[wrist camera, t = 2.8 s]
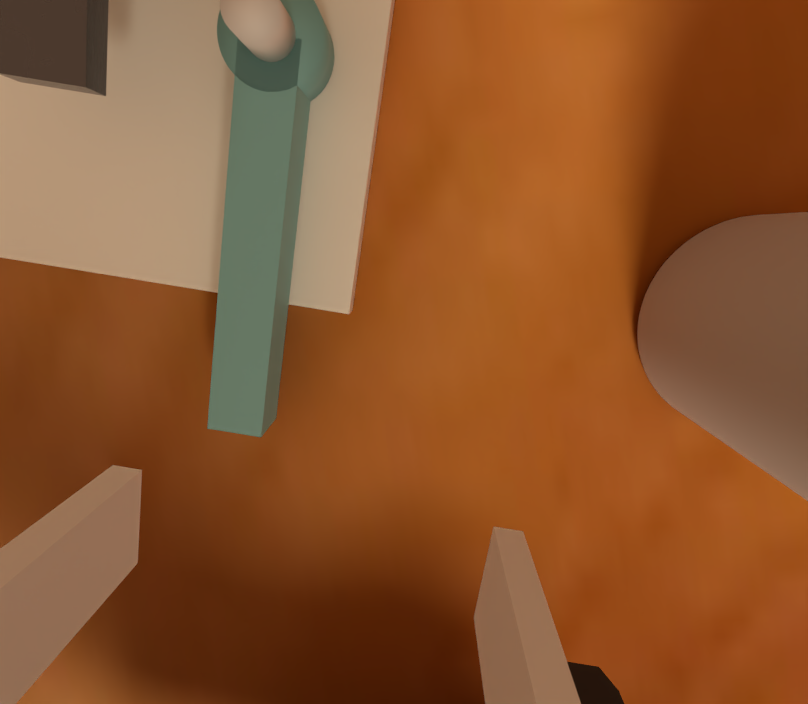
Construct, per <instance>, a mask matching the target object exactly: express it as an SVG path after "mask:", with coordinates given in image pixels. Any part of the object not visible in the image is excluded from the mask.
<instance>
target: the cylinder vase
mask: <svg viewBox="0 0 808 704" xmlns="http://www.w3.org/2000/svg"><path fill="white" fill-rule="evenodd" d="M637 340H638V349H639V355H640V359H641V362H642V365H643V368H644V370H645V373H646V375H647V377H648V379H649V381H650V382H651V384H652V385H653V387H654V388H655V390H656V391H657V392H658V393H659V395H660V396H661V397H662V398H663V399H664V400H665V401H666V402H667V403H668V404H670V405H671V406H672V407H673V408H675V409H676V410H677V411H679V412H680V413H682V414H683V415H685V416H686V417H688V418H689V419H690V420H692V421H693V422H695V423H696V424H698V425H699V426H701V427H702V428H703V429H705V430H706V431H708V432H709V433H711V434H712V435H714V436H715V437H716V438H718V439H719V440H721V441H722V442H724V443H725V444H727V445H728V446H729V447H731V448H732V449H734V450H735V451H737V452H738V453H740V454H741V455H742V456H744V457H745V458H747V459H748V460H750V461H751V462H753V463H754V464H755V465H757V466H758V467H760V468H761V469H763V470H764V471H766V472H767V473H768V474H770V475H771V476H773V477H774V478H776V479H777V480H779V481H780V482H781V483H783V484H784V485H786V486H787V487H789V488H790V489H792V490H793V491H794V492H796V493H797V494H799V495H800V496H802V497H803V498H805V499H806V500H807V501H808V212H797V213H780V214H763V215H750V216H744V217H739V218H734V219H731V220H727V221H724V222H722V223H719V224H716V225H714V226H712V227H710V228H708V229H706V230H704V231H702V232H700V233H699V234H697V235H695V236H694V237H692V238H691V239H689V240H688V241H687V242H685V243H684V244H683V245H682V246H680V247H679V248H678V249H677V250H676V251H675V252H674V253H673V254H672V255H671V256H670V257H669V258H668V259H667V260H666V261H665V263H664V264H663V265H662V266H661V268H660V269H659V270H658V272H657V273H656V275H655V276H654V278H653V280H652V282H651V283H650V285H649V287H648V289H647V292H646V294H645V297H644V299H643V302H642V305H641V309H640V314H639V319H638V329H637Z"/></svg>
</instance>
